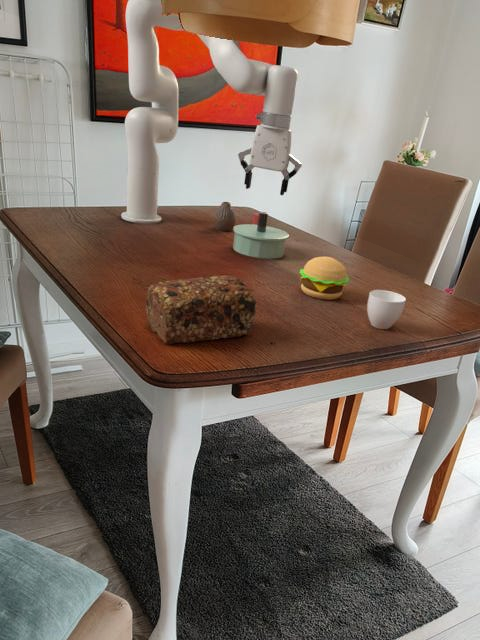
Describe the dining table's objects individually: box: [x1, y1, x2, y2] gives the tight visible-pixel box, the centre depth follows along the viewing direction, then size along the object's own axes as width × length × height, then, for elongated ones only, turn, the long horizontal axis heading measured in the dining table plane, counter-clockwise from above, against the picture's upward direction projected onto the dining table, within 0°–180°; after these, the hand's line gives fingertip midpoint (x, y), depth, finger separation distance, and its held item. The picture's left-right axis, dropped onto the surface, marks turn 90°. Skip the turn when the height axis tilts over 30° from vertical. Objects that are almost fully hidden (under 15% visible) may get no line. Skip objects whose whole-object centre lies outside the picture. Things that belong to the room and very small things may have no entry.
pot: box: [232, 232, 287, 260], centre depth 166 cm, size 15×15×6 cm
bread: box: [145, 274, 257, 345], centre depth 109 cm, size 19×11×10 cm, turn 118°
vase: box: [213, 201, 236, 233], centre depth 183 cm, size 7×7×9 cm
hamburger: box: [299, 256, 350, 301], centre depth 139 cm, size 12×12×9 cm
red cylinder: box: [251, 212, 259, 225], centre depth 182 cm, size 4×4×7 cm
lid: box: [232, 211, 290, 241], centre depth 163 cm, size 16×16×6 cm
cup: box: [366, 289, 407, 330], centre depth 126 cm, size 8×10×7 cm
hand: (264, 191), depth 159 cm, fingers open, 9 cm apart
